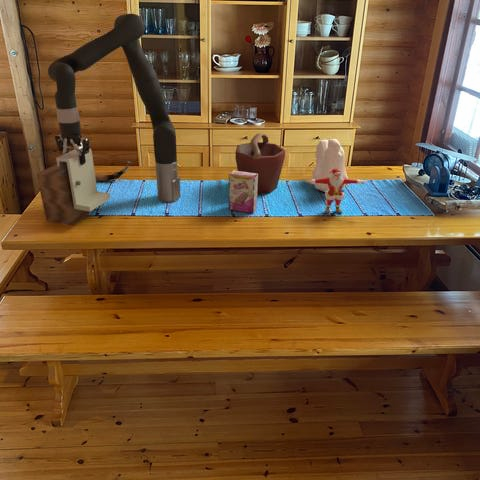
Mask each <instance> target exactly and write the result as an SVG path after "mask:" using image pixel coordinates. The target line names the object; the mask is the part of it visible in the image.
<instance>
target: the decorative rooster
mask: <svg viewBox="0 0 480 480" xmlns="http://www.w3.org/2000/svg"><path fill="white" fill-rule="evenodd" d="M314 155H315V166H314V169H313V170H312V172H311V173H312V179H323V178H330V177H333V174H332V173H333V172H331V171H332V170H333V169H339V170H340V171H341V175H340V176H341V177H342V178H347V179H349V177H348V175H347V170H346V167H345V166H346V165H345V151H344V148H343V147H342V146H341V143H340V142H339V140H338V139H336V138H330V139H329V140H328V139H321V140H319V141H318V143H317V145H316V149H315V154H314ZM329 172H331V173H329ZM313 186H314V188H315V189H317V190H319V191H321V192H326V191H328V190H329V187H328V184H321V183H315V184H313ZM347 186H349V184H344V186H343V188H342V189H341V191H342V190H343V189H344V188H345V187H347Z"/></svg>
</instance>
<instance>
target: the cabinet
mask: <svg viewBox="0 0 480 480" xmlns="http://www.w3.org/2000/svg"><path fill="white" fill-rule="evenodd" d="M36 176H37V180H38V186H39V191H40V196H41V200H42V201H41V202H42V207H43V211H44V216H45V217H44V218H45V221H46V222H49V223H50V222H51V223H54V224H55V223H56V224H60V225H66V226H69V227H70V226H71V227H72V226H74V225H75V224H76V223H78V222H80V221H81V220H82V219H84V218H85V217H86V216H88V215H89V213H90V212H89V211H84V210H78V209H74V203H73V197H72V191H71V185H70V179H69V173H68V167H67V162H61V163H59V166H58V165H57V163H56V164H54V165H52V166H50V167H48V168H46V169H43V170H41V171H40V172H37V173H36ZM96 208H97V207H96ZM96 208H95V209H96ZM95 209H93V210H94V211H96V210H97V209H98V208H97V209H96V210H95ZM93 210H92V211H93ZM92 211H91V213H93V212H94V211H93V212H92ZM91 213H90V214H91Z"/></svg>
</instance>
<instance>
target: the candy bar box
mask: <svg viewBox="0 0 480 480" xmlns="http://www.w3.org/2000/svg"><path fill="white" fill-rule="evenodd" d="M228 177H229V178H228V179H229V181H228V182H229V183H228V210H229V211H235V212H241V213H247V214H254V213H255V212H256V211H257V208H258V194H257V187H258V174H256V173H249V172H242V171H238V170H234V169H233V170H231V171H230V173H229V174H228Z"/></svg>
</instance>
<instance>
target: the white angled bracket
mask: <svg viewBox="0 0 480 480" xmlns="http://www.w3.org/2000/svg"><path fill="white" fill-rule="evenodd" d="M92 151H93V150H92V148H89V153H87V154H85V159H86V162H85V164H83V165H80V160H79V154H78V152H77V150H75V149H73V150H69V152H68V153H66V154H64V153H63V154H62V155H59V156H58V157H56V158H55V159H56V164H57V165H58V166H59V163H61V162H67V167H68V173H69V179H70V185H71V191H72V197H73V203H74V209H78V210H84V211H89V212H91V211H92V210H93V209H95V208H96V207H98V208H99V206H101V205H103V204H104V203H106V202H107V201H108V200H110V199H111V193H109V192H103V191H98V188H97V187H98V186H97V181H96V178H95V173H96V171H95V165H94V159H93V157H94V156H93V152H92ZM91 213H92V212H91Z"/></svg>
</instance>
